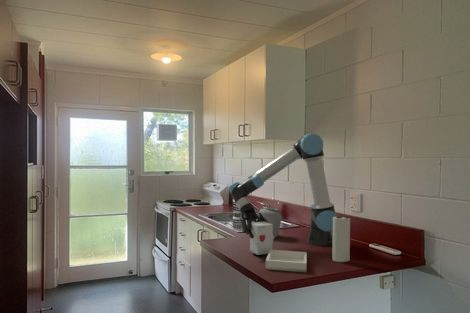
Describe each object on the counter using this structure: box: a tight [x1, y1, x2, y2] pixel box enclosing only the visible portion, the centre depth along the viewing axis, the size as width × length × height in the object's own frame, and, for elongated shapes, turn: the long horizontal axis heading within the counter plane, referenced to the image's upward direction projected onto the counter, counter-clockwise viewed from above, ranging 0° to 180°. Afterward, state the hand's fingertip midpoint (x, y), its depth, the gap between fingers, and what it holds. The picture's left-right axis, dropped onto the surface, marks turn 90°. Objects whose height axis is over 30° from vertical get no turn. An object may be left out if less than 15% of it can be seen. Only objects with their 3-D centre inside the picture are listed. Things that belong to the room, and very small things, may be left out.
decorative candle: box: [231, 198, 243, 231], centre depth 237 cm, size 9×9×25 cm
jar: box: [257, 197, 283, 238], centre depth 215 cm, size 19×15×25 cm
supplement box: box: [249, 221, 274, 256], centre depth 175 cm, size 9×9×15 cm
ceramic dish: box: [265, 249, 308, 273], centre depth 159 cm, size 18×18×4 cm
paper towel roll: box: [331, 216, 351, 263], centre depth 166 cm, size 7×6×21 cm
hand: (265, 241), depth 173 cm, fingers closed on supplement box, 10 cm apart
